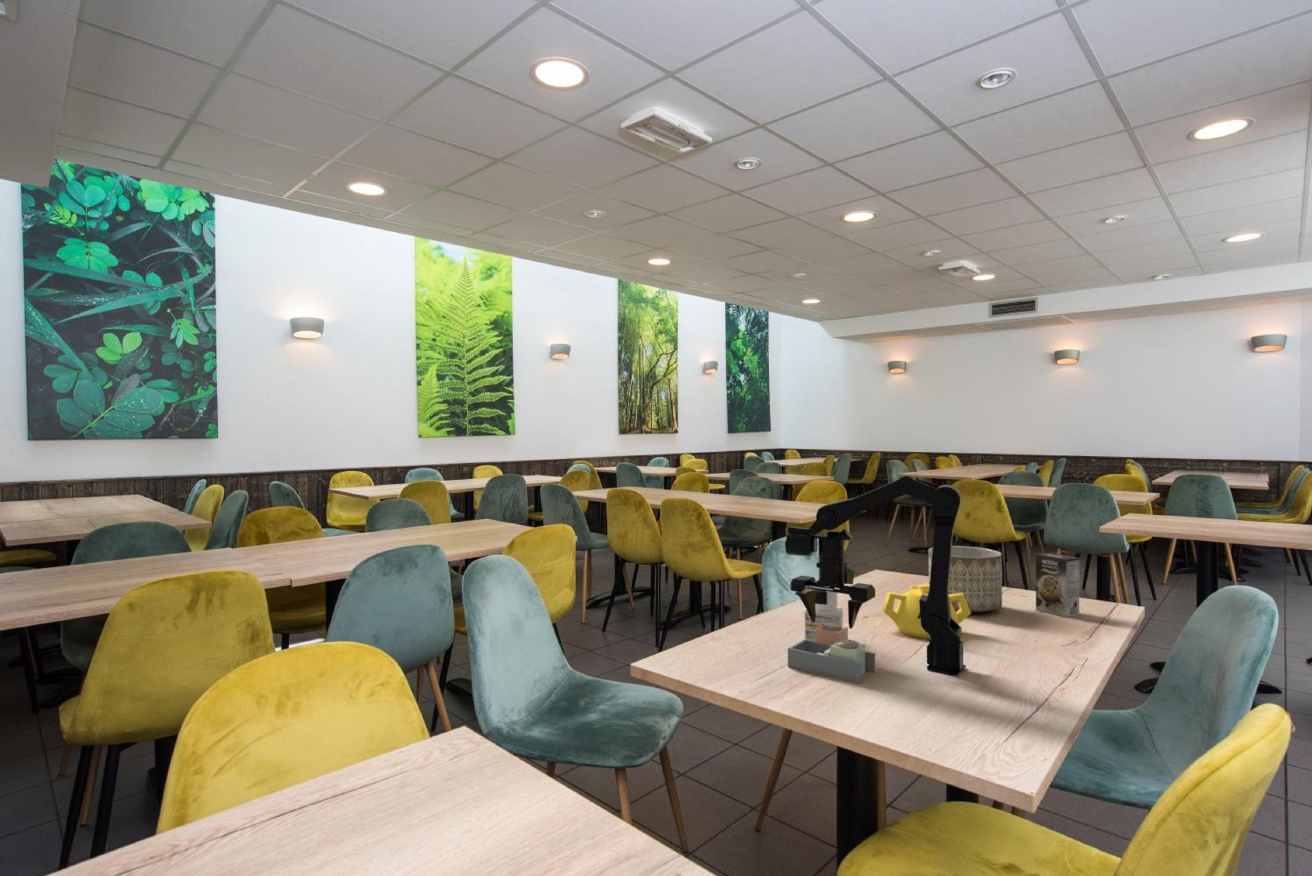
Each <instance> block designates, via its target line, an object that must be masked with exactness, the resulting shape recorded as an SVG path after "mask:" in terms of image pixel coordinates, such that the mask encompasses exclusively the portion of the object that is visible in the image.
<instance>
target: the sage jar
mask: <svg viewBox="0 0 1312 876" xmlns="http://www.w3.org/2000/svg"><path fill="white" fill-rule="evenodd" d="M865 651H866V644H863V643H859V642H858V641H856V640H853V639H848V640H846V639H844V640H838V641H837V642H836V643H835V644H833V645H831V646H830V656H831V657H835V658H840V659H845V660H850V661H854V662H859V663H862V675H864V674H865V673H866V671H865Z"/></svg>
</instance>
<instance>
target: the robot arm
mask: <svg viewBox="0 0 1312 876" xmlns="http://www.w3.org/2000/svg"><path fill="white" fill-rule="evenodd" d="M904 495H908V496H910V497H913V498H915V499H918V500H920V501H922V502H925V503H927V504H930V505H931V511H932V513H931V514H932V519H933V525H934V526H933V527H934V532H933V545H932V548H933V553H932V564H931V576H930V587H929V593H928V596H927V595H924V594H922V595H921V598H920V600H919V605H920V613H919V615H918V617H917V618H918V619H920V618H921V626H922V628H923V629H924V630H925V632H927V633H928V634H929V635H930V637H931V638H930V639H929V638H928V641H929V642H928V644H927V645H926V664H927V666H926V669H927V670H928V671H933V672H934V671H935V672H937V673H938V672H939V673H944V674H948V675H954V676H960V674H962V672H963V671H964V670H965V669H966V666H967V665H966V664H964V640H961V633H962V627H961V626H960V624H959V625H958V624H957V623H956V622H955V621H954V620H953V619H952V618H951V610H950V601H949V595H948V582H949V571H950V559H951V548H952V546H953V534H954V526H955V524H956V521H957V517H958V514H959V510H960V506H961V503H962V501H963V500H962V493H961V491H960V490H959V489H958V488H957V487H956V486H954V485H952V484H951V485H950V484H942V485H939V484H935V483H932V482H929V481H925V480H923V479H919V478H917V477H915V476H912V475H911V474H910V475H909V474H905V475H902V476H901V477H899V478H898V479H897V480H893V481H892V482H889V483H886V484H884V485H881V486H880V487H877V488H874V489H872V490H870V491H867V492H865V493H863V494H861V495H858V496H856V497H853V498H847V499H843V500H842V499H841V500H839V501H833V502H829V503H828V504H825V505H822V506H820V507H819V508H818V509H817V512H816V515H815V520H814V522H813V523H812V524H810V527H800V526H799V527H798V526H796V525H795V526H793V525H790V526H789V527H788V528H787V534H786V539H785V542H784V547H785V552H786V555H788V556H801V557H812V556H813V554H814V553H817V552H818V562H816V564H815V565H816V568H818V579H815V577H814V576H807V575H798V576H797V577H794V578H792V579H791V580H790V584H789V589H790V591H791V592H794V594H795V595H796V596H798V597H799V599H800V601H801V602H802V604H803V605H804V608H805V610H807V612H808V614H809V616H810V618H811V621H812V622H815V620H816V609H815V595H816V591H817V590H822V591H829V592H836V593H837V594H844V595H848V596H849V598H850V599H849V600H847V611H848V612H847V613H848V614H847V615H848V628H849V629H850V630H851V629H853V628H854V626H855V622H856V620H857V616H858V614H859V612H860V609H861V607H862V606H863V604H864V603H866V602H869V601H871V600H872V599H874V598H876V588H875V586H874V585H873V584H869V583H862V582H861V583H860V582H857V583H855V584H854V580H855V579H854V578H855V570H852V569H851V568H848V565H847V564H848V563H847V561H845V541H850V540H851V539H853V538H854V536H853V534H851V533H850V532H849V530H847V528H843V529H842V530H841V531H835V529H837V528H838V527H840V526H841V525H843V524H845V523H846V522H848V521H849V520H851V519H853V518H854V517H856V516H857V515H859V514H861V513H863V512H866V511H868V510H870V509H873V508H875V507H877V506H880V505H883V504H885V503H887V502H891V501H893V500H895V499H898V498H900V497H902V496H904ZM825 530H826V531H827V534H820V533H821V532H823V531H825ZM824 586H827V587H824ZM828 587H829V588H828ZM834 588H835V589H834Z"/></svg>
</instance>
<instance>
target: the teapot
mask: <svg viewBox="0 0 1312 876" xmlns="http://www.w3.org/2000/svg"><path fill="white" fill-rule="evenodd" d="M918 585H919V586H918ZM918 585H912V584H911V585H910V589H908V590H907V591H906V592H905V593H904V594H903V593H902V594H901V593H897V592H891V591H888V592H887V593H886V597H885V600H884V601H883V606H882V608H881V611H882V612H883V613H884V614H885V615H886V616H888V618H890V619H891V620H892V621H893V623H894V624H895V626H896V627H897V628H898V630H900V631H901V632H902V633H903V634H905V635H908V636H912V637H916V638H921V639H928V640H929V639H930V638H931V637H930V635H929V634H928V633H927V632H925V630H924V629H923V628H922V626H921V618H920V619H918V618H917V617H918V615H919V613H920V605H919V600H920V598H921V595H922V594H924V595H927V596H928V593H929V587H930V585H929V584H927V583H923V584H922V583H921V584H918ZM918 587H919V588H918ZM896 600H899V601H898V603H897V606H896V608H895V611H894V606H895V601H896ZM955 600H958V603H959V607H960V609H959V610H958V611H955V609H954V607H953V605H952V604H951V601H955ZM949 601H950V610H951V618H952V619H953V620H954V621H955V622H956V623H957V624H958V625H959V626H960V624H961V623H962V622H963V621H964V620H966V618H968V617H969V616H970V615H971V614H972V613H971V612H970V610H969V607H968V604H967V601H966V599H965V596H964V594H963V593H956V594H949Z"/></svg>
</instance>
